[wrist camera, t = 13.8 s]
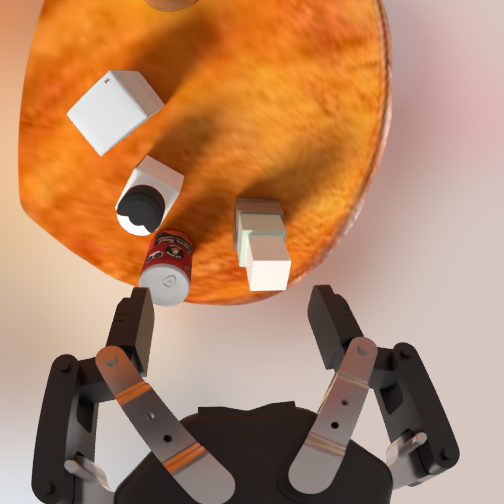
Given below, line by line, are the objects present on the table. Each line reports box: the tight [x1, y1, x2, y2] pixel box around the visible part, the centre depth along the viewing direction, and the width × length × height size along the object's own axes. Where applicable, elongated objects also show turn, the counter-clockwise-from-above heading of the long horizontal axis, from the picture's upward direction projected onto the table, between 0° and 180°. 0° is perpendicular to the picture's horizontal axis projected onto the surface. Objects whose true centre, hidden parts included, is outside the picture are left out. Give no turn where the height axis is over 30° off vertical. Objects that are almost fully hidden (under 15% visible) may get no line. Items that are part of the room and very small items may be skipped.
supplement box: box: [67, 70, 165, 156], centre depth 30 cm, size 7×7×13 cm
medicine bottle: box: [115, 155, 184, 235], centre depth 38 cm, size 7×7×12 cm
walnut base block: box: [233, 198, 284, 251], centre depth 47 cm, size 7×7×5 cm
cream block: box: [246, 235, 291, 291], centre depth 38 cm, size 5×5×6 cm
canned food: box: [139, 229, 193, 306], centre depth 45 cm, size 8×8×11 cm
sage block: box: [237, 214, 287, 267], centre depth 43 cm, size 6×6×5 cm
